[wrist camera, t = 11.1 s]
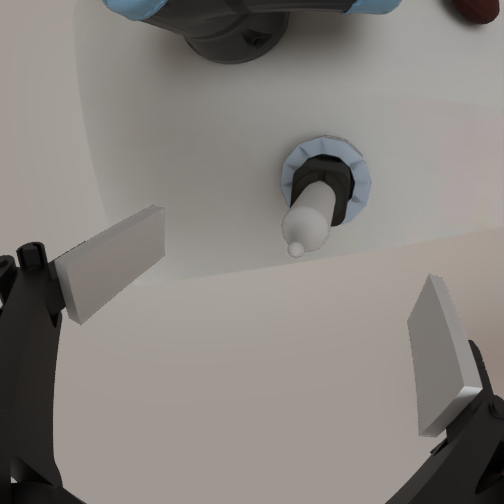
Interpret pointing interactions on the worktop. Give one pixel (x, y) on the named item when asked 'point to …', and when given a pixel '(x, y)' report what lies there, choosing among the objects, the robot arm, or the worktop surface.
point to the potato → (478, 10)
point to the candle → (316, 203)
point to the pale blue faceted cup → (334, 149)
